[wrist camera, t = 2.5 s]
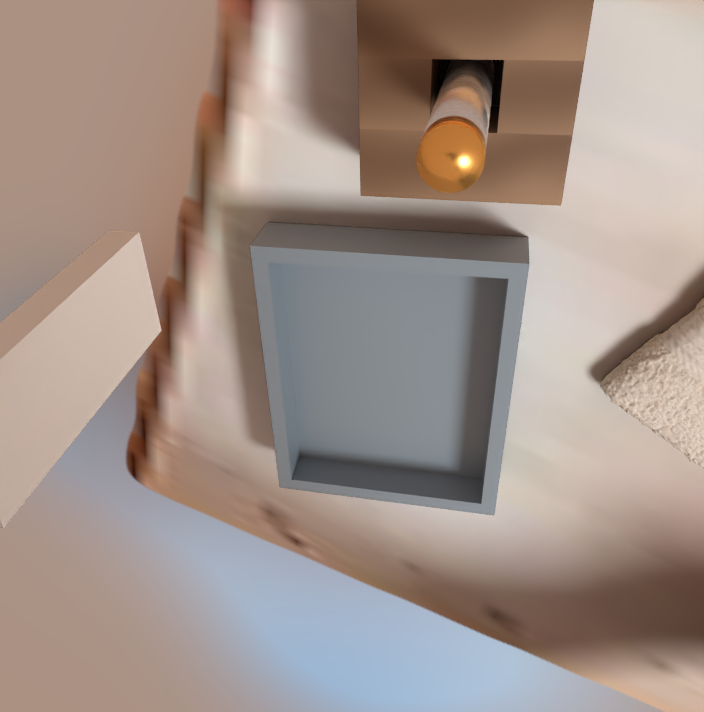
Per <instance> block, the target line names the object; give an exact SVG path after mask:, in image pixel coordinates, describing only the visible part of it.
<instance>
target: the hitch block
mask: <svg viewBox="0 0 704 712" xmlns="http://www.w3.org/2000/svg"><path fill="white" fill-rule="evenodd" d="M593 3H594V0H357V32H358V83H359V134H360V185H361V196H377V197H397V198H418V199H438V200H459V201H479V202H499V203H520V204H540V205H561V203H562V196H563V190H564V184H565V178H566V171H567V165H568V159H569V153H570V146H571V140H572V134H573V128H574V122H575V115H576V109H577V103H578V97H579V90H580V84H581V78H582V72H583V65H584V59H585V53H586V47H587V41H588V34H589V28H590V22H591V16H592V9H593ZM441 59H470V60H504V61H503V71H502V81H501V92H500V102H499V106H494V105H491V109H490V118H489V127H488V136H487V146H486V155H485V163H484V168H483V171H482V173H481V175H480V177H479V178H478V179H477V181H476V182H475V183H474V184H473V185H471V186H470V187H469V188H467V189H465V190H463V191H460V192H455V193H445V192H440V191H437V190H435V189H433V188H431V187H430V186H429V185H427V184H426V183H425V182H424V180H423V179H422V178H421V176H420V174H419V172H418V169H417V164H416V155H417V151H418V148H419V145H420V142H421V140H422V137H423V134H424V132H425V129H426V126H427V124H428V121H429V118H430V116H431V113H432V110H433V108H434V105H435V102H436V100H437V97H438V94H439V87H440V65H441Z"/></svg>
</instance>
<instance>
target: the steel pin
mask: <svg viewBox="0 0 704 712" xmlns="http://www.w3.org/2000/svg"><path fill="white" fill-rule="evenodd" d="M493 82H494V64H493V61H492V60H470V59H452V61H451V63H450V65H449V68H448V70H447V73H446V76H445V78H444V81H443V84H442V86H441V89H440V92H439V94H438V97H437V100H436V102H435V105H434V108H433V110H432V113H431V116H430V118H429V121H428V124H427V126H426V129H425V132H424V134H423V137H422V140H421V142H420V145H419V148H418V151H417V155H416V164H417V169H418V172H419V174H420V176H421V178H422V179H423V180H424V182H425V183H426V184H427V185H429V186H430V187H431V188H433V189H435V190H437V191H440V192H445V193H455V192H460V191H463V190H465V189H467V188H469V187H470V186H471V185H473V184H474V183H475V182H476V181H477V179H478V178H479V177H480V175H481V173H482V171H483V168H484V163H485V155H486V146H487V136H488V127H489V118H490V109H491V100H492V91H493Z"/></svg>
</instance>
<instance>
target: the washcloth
mask: <svg viewBox="0 0 704 712" xmlns="http://www.w3.org/2000/svg"><path fill="white" fill-rule="evenodd" d="M600 387H602V389H603V390H604V392H605V394H606V395H607V396H609V397H610V398H611V402H612V403H614V404H618V405H619V406H620V407H621V408H622V409H623V410H625V411H626V412H627V413H628V414H630V415H632V416H633V417H634V418H637V419H639V421H640V422H642V424H643V425H645V426H647V427H649V428H651V429H652V431H654V433H655V434H657V435H658V436H661V437H663V438H664V439H665V440H666V441H668V442H670V443H671V444H672V445H673V447H674V448H676V449H678V450H680V451H681V452H683V453H684V454H685V455H686V456H687V458H688V459H689V460H690V461H694V462H695V463H697V464H698V465H699V466H701V467H703V468H704V297H703V298H702V299H701V300H700V301H699V303H698V304H697V305H696V308H695V309H694V310H692V311H691V312H690V313H689V314H688V315H686V316H684V317H683V318H681V319H680V320H679V322H677V323H675V324H673V325H672V326H671V327H670V328H669V329H668V330H666V331H665V332H664V333H659V334H656V335H655V336H654V337H653V338H651V339H650V340H648V342H646V343H645V344H644V345H643V346H642V347H641V348H639V349H637V350H636V352H634V353H632V354H631V355H630V356H629V357H628V358H627V359H626V360H623V361H622V363H621V364H620V365H618V366H617V367H616V368H615V369H613V370H612V371H611V372H610V373H609V374H608V375H607V376H606V377H605V378H604V380H603V381H602V382H601V384H600Z"/></svg>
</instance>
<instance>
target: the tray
mask: <svg viewBox="0 0 704 712" xmlns="http://www.w3.org/2000/svg"><path fill="white" fill-rule="evenodd" d="M250 252H251V260H252V268H253V276H254V284H255V292H256V300H257V308H258V316H259V324H260V332H261V340H262V349H263V357H264V365H265V373H266V381H267V389H268V397H269V405H270V413H271V421H272V429H273V437H274V445H275V453H276V461H277V469H278V478H279V486H280V487H281V488H288V489H296V490H303V491H311V492H319V493H326V494H334V495H342V496H349V497H357V498H365V499H372V500H380V501H388V502H395V503H403V504H411V505H418V506H426V507H433V508H441V509H449V510H456V511H464V512H472V513H479V514H487V515H494V514H495V507H496V499H497V492H498V485H499V478H500V471H501V463H502V456H503V449H504V442H505V435H506V428H507V420H508V413H509V406H510V399H511V392H512V384H513V377H514V370H515V363H516V356H517V349H518V341H519V334H520V327H521V320H522V313H523V305H524V298H525V291H526V284H527V277H528V270H529V244H528V237H517V236H500V235H483V234H465V233H448V232H431V231H413V230H396V229H379V228H361V227H344V226H326V225H309V224H292V223H274V222H267V224H266V225H265V226H264V228H263V229H262V230H261V232H260V233H259V234H258V236H257V237H256V238H255V240H254V241H253V242H252V244H251V245H250Z"/></svg>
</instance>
